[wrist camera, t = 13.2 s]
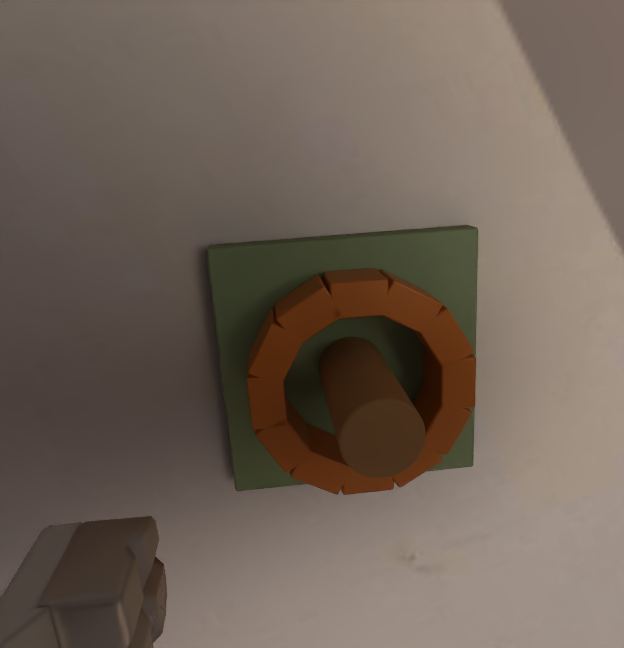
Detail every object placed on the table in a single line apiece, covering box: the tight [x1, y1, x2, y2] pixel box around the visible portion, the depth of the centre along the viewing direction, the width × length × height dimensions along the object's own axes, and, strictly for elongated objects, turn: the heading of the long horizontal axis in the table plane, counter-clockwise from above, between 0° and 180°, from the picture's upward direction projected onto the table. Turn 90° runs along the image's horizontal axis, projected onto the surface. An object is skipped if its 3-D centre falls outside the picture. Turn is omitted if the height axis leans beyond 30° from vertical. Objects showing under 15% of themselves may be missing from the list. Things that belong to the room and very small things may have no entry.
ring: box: [247, 268, 476, 495], centre depth 16 cm, size 6×6×2 cm
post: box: [206, 225, 478, 491], centre depth 15 cm, size 8×8×6 cm
